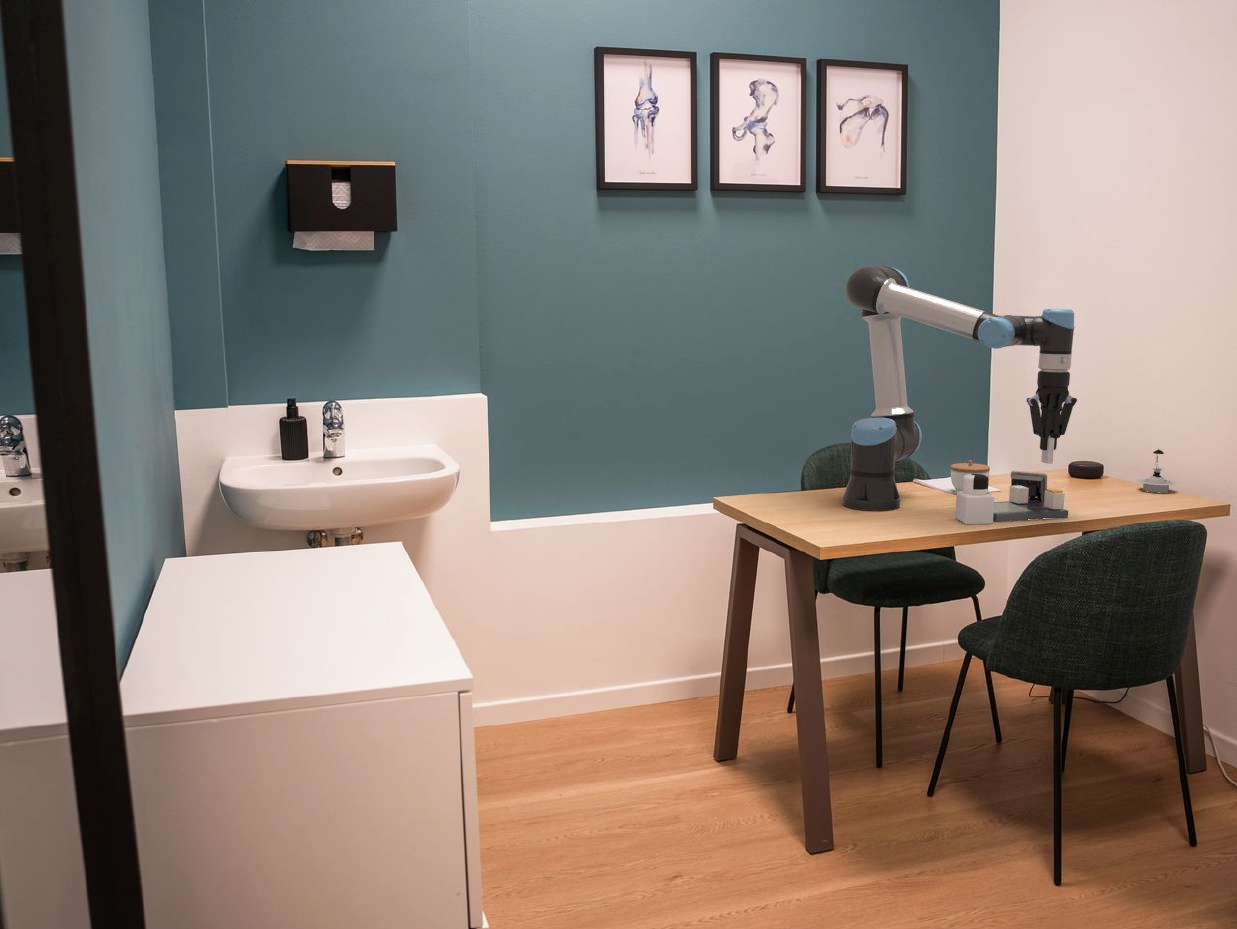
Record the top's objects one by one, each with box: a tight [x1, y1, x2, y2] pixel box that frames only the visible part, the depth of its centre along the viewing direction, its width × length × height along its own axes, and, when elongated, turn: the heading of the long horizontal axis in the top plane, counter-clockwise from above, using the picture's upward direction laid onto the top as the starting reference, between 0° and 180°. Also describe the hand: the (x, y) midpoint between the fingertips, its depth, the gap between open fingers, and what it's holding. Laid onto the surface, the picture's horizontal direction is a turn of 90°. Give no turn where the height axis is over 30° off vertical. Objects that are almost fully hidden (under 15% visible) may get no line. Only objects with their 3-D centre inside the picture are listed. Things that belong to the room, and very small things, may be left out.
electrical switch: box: [1010, 470, 1048, 502], centre depth 282 cm, size 9×5×9 cm, turn 57°
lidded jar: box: [950, 459, 991, 492], centre depth 299 cm, size 11×11×9 cm
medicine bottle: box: [955, 474, 995, 525], centre depth 262 cm, size 7×7×12 cm
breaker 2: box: [1044, 488, 1065, 509], centre depth 267 cm, size 3×4×5 cm
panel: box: [993, 500, 1069, 523], centre depth 270 cm, size 20×14×2 cm
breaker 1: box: [1008, 485, 1029, 504], centre depth 274 cm, size 3×4×4 cm
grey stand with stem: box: [1136, 448, 1177, 494], centre depth 299 cm, size 12×10×10 cm
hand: (1046, 462), depth 265 cm, fingers closed
